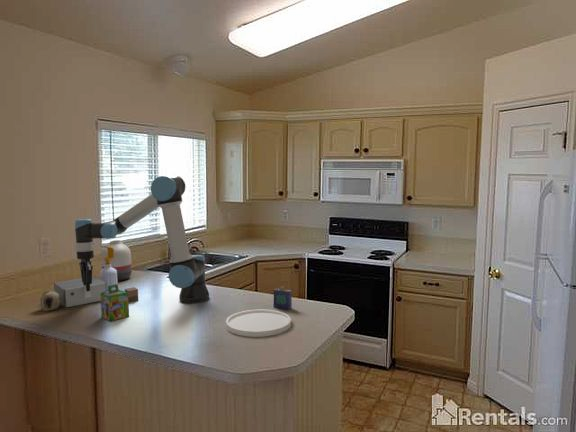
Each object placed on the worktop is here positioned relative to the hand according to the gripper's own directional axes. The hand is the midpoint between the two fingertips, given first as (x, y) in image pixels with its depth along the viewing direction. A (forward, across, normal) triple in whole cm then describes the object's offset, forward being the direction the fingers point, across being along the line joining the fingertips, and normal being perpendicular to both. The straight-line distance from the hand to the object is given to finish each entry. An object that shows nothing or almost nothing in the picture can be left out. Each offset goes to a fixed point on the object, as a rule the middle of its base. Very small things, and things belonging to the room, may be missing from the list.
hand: (87, 297), depth 218 cm
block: (+4, -7, -19) cm, 21 cm away
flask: (+5, -69, -68) cm, 97 cm away
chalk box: (+5, -28, -3) cm, 28 cm away
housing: (+4, +13, 0) cm, 13 cm away
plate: (+5, -79, -46) cm, 92 cm away
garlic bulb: (+4, +5, +15) cm, 17 cm away
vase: (+4, +43, -30) cm, 52 cm away
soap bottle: (+4, +23, -18) cm, 29 cm away
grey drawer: (+4, +11, 0) cm, 12 cm away
